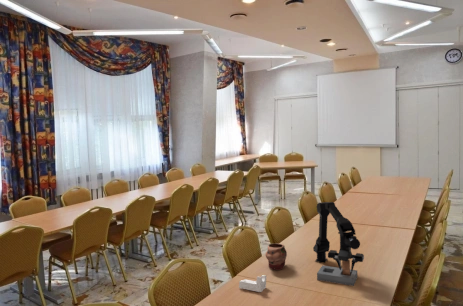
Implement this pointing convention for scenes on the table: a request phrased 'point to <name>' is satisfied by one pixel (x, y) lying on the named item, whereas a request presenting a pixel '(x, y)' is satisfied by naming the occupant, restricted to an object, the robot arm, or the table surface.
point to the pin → (346, 267)
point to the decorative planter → (276, 256)
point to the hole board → (336, 275)
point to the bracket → (254, 284)
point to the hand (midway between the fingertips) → (346, 270)
